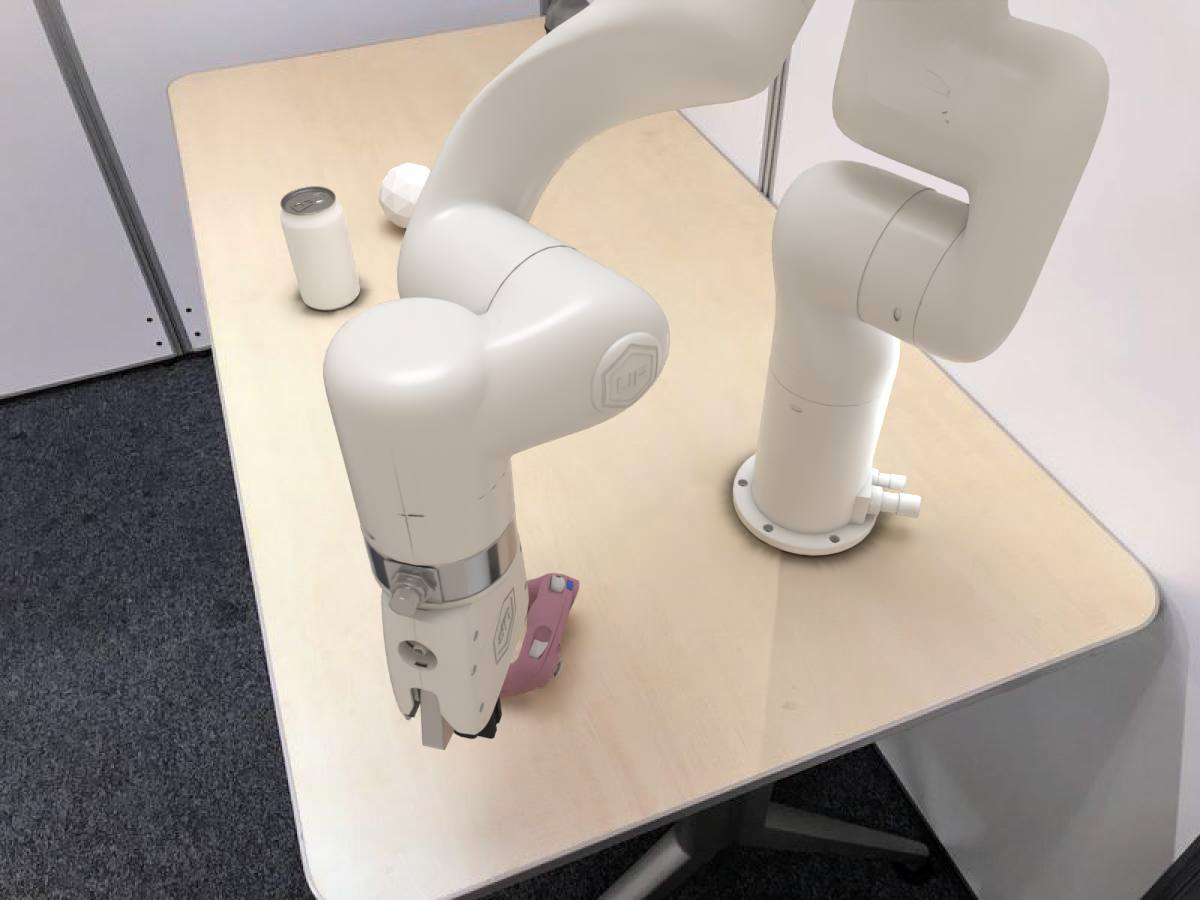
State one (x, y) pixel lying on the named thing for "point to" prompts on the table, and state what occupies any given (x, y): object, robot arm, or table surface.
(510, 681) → the video game controller
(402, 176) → the ball
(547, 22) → the beverage cup
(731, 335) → the table surface
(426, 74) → the table surface
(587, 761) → the table surface
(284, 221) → the can
